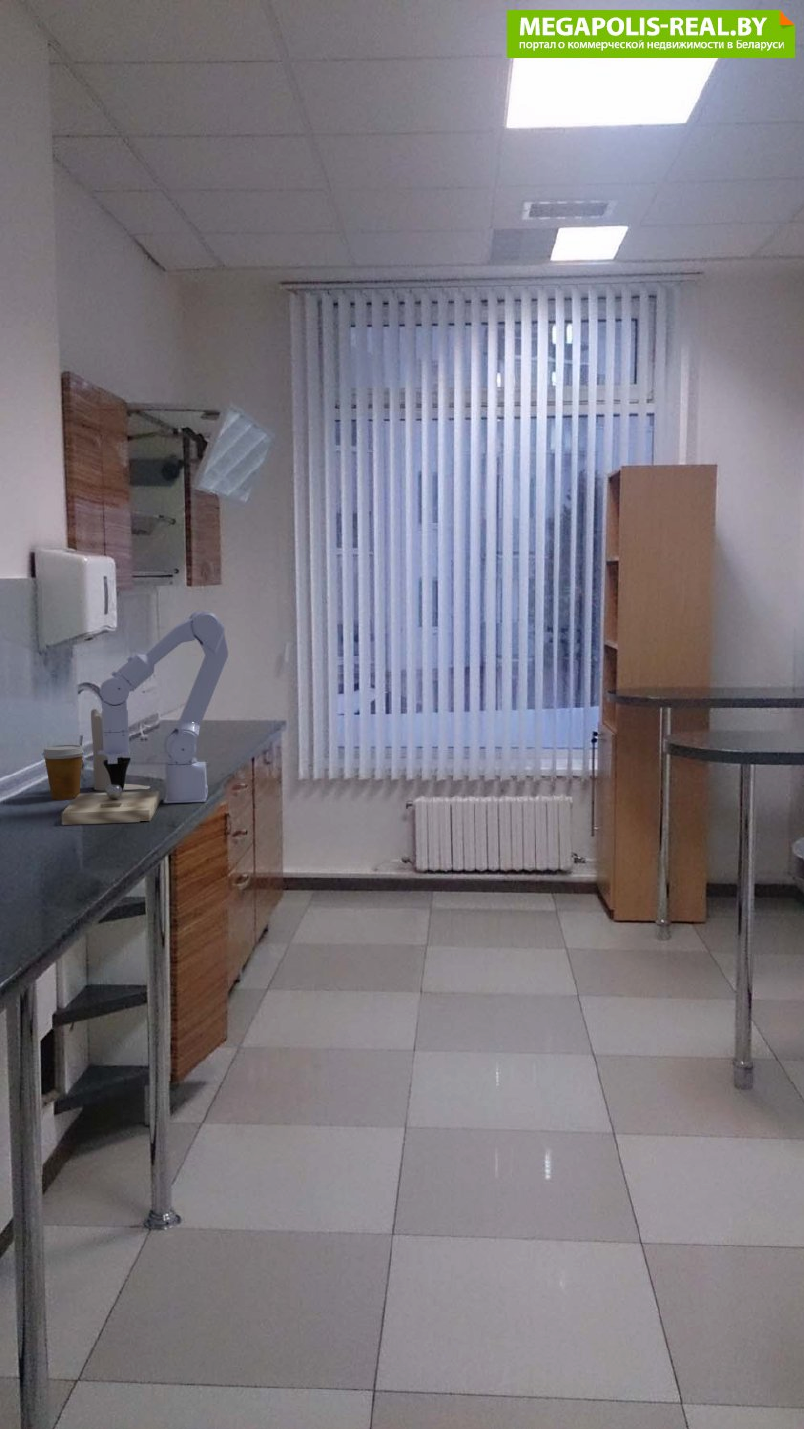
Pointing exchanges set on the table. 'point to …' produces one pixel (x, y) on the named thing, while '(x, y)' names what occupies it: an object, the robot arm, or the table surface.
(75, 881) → the table surface
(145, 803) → the birch plate
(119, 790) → the steel ball
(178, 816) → the table surface
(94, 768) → the beige bookend
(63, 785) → the disposable coffee cup
